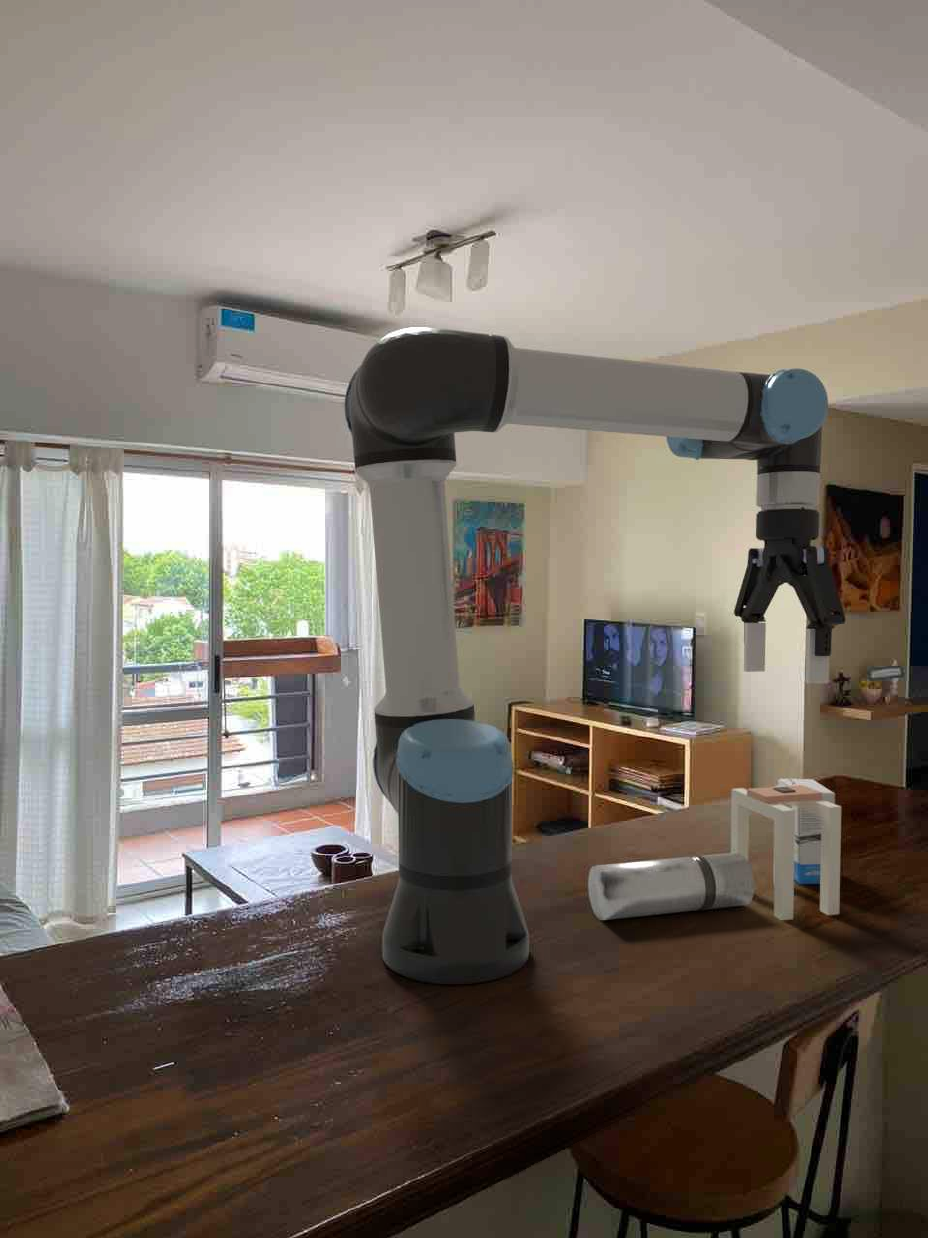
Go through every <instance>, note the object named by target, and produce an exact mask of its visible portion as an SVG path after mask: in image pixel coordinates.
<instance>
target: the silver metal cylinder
mask: <svg viewBox="0 0 928 1238" xmlns="http://www.w3.org/2000/svg"><path fill="white" fill-rule="evenodd" d="M751 867H752V866H751V865H750V862H749V860H748V861H747V860H746V858H745V857H744V856H743V855H742V854H740V853H731V852H728V853H718V854H708V855H691V856H685V857H673V858H663V859H651V860H642V861H641V860H640V861H631V862H619V863H608V864H597V865H592V867H591V868H590V870H589V874H588V882H587V887H588V897H589V902H590V906H591V908H592V911H593V913H594V915H595V917H596V918H597V919H598V920H600V921H609V920H617V919H626V918H638V917H645V916H654V915H663V914H673V913H683V912H684V913H685V912H690V911H691V912H693V911H694V912H695V911H707V910H712V909H721V908H730V907H740V906H746V905H749V904H750V903H751V901H752V900H753V898H754V892H755V880H754V879H755V878H754V874H753V870H752V868H751Z"/></svg>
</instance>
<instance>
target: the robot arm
mask: <svg viewBox="0 0 928 1238" xmlns="http://www.w3.org/2000/svg"><path fill="white" fill-rule="evenodd" d="M828 403H829V398H828V393H827V389H826V387H825V385H824V384H823V382H822V381H821V380H820V378H819V377H818V376H817V375H816V374H814V373H813V372H811V371H809V370H807V369H803V368H789V369H781V370H778V371H775V372H773V373H772V374H771V373H770V374H763V373H755V372H741V371H733V370H723V369H713V368H703V367H696V366H695V367H694V366H685V365H677V364H667V363H666V364H665V363H657V362H650V361H641V360H629V359H624V358H623V359H620V358H612V357H604V356H602V357H601V356H592V355H585V354H584V355H583V354H574V353H565V352H557V351H548V350H540V349H539V350H537V349H529V348H521V347H515V346H514V345H513V344H512V342H511V341H510V340H509V338H508V337H507V336H506V335H505V336H504V335H500V334H488V333H481V332H480V333H479V332H471V331H464V330H457V329H450V328H449V329H447V328H435V327H421V326H420V327H408V328H407V327H406V328H402V329H399V330H396V331H393V332H391V333H388V334H387V335H384V336H383V337H382V338H381V339H379V340H378V341H377V342H375V344H373V346H372V347H371V348H370V349H369V350H368V352H367V353H366V355H365V357H364V358H363V360H362V362H361V365H359V367H358V368H357V369H356V370H355V372H354V373H353V375H352V377H351V379H350V381H349V382H348V386H347V388H346V392H345V396H344V417H345V421H346V423H347V427H348V428H347V429H348V430H349V432H350V434H351V438H352V451H353V459H354V472H355V473H356V474H357V475H358V476H359V477H360V478H361V479H362V480H363V481H364V482H365V483H366V484H367V485H368V486H369V494H370V508H371V520H372V530H373V531H372V533H373V545H374V558H375V560H374V561H375V569H376V584H377V595H378V607H379V619H380V632H381V633H380V635H381V643H382V644H381V645H382V660H383V671H384V684H385V694H384V696H383V697H382V698H381V699H380V701H378V703H377V704H376V705H375V706H374V708H373V710H374V711H373V712H374V725H375V735H376V737H375V739H376V742H375V747H374V749H373V756H372V757H373V758H372V768H373V773H374V778H375V781H376V783H377V786H378V789H380V791H381V793H382V795H383V796H384V797H385V799H386V800H387V801H388V802H389V804H390V805H391V806H392V808H393V809H394V811H395V812H396V814H397V821H398V822H397V823H398V881H397V882H398V883H397V885H396V889H395V893H394V896H393V898H392V902H391V906H390V908H389V912H388V914H387V918H386V921H385V924H384V927H383V931H382V937H381V942H382V943H381V944H382V947H381V949H382V953H381V954H382V959H383V963H384V964H385V965H386V966H387V967H388V968H389V969H390V970H392V971H393V972H395V973H396V974H399V975H401V976H403V977H406V978H409V979H412V980H414V981H415V980H416V981H420V982H425V983H431V984H440V985H468V984H469V985H470V984H471V985H472V984H478V983H484V982H490V981H493V980H494V981H495V980H497V979H501V978H504V977H506V976H508V975H511V974H513V973H515V972H517V971H518V970H519V969H521V968H522V967H523V966H525V964H526V963H527V962H528V959H529V957H530V956H529V954H530V935H529V934H530V933H529V930H528V927H527V924H526V920H525V917H524V914H523V911H522V908H521V904H520V902H519V898H518V896H517V895H518V894H517V892H516V890H515V889H516V888H515V885H514V882H513V874H512V873H513V872H512V871H513V869H512V868H513V866H512V864H513V863H512V860H513V857H512V855H513V854H512V853H513V852H512V851H513V849H512V848H513V845H512V844H513V838H512V837H513V824H512V823H513V822H512V821H513V775H514V771H515V770H514V769H515V768H514V760H513V758H512V747H511V743H510V741H509V738H508V737H507V735H506V734H505V733H504V732H503V731H502V730H500V729H499V728H497V727H495V726H493V725H491V724H488V723H479V722H478V721H476V713H475V702H474V699H473V698H472V697H471V696H469V695H468V694H467V693H466V692H465V691H464V690H463V689H462V688H461V686H460V676H459V662H458V648H457V634H456V620H455V609H454V592H453V591H454V590H453V581H452V580H453V578H452V567H451V552H450V538H449V527H448V524H449V523H448V512H447V498H446V485H445V484H446V483H445V482H446V480H447V477H449V475H450V474H451V473H452V472H453V471H454V469H455V468H456V467H457V454H456V452H457V451H456V437H455V433H464V432H466V433H467V432H482V433H497V432H499V431H500V430H501V429H502V428H503V427H505V426H506V425H521V426H531V427H532V426H533V427H534V426H535V427H544V428H556V429H569V430H581V431H595V432H606V433H620V434H631V435H632V434H633V435H642V436H643V435H644V436H654V437H656V436H657V437H665V439H666V443H667V447H668V449H669V450H670V452H671V453H672V455H675V456H677V457H679V458H688V459H694V460H696V461H699V460H700V459H701V460H703V459H704V460H706V459H707V460H747V461H756V469H757V471H756V501H755V503H756V504H755V505H756V506H757V507H759V508H760V510H759V511H757V513H756V516H755V517H756V520H755V537H756V539H757V540H758V541H763V542H764V544H763V545H764V546H763V548H762V547H760V548H759V547H758V548H757V547H755V548H753V547H752V548H749V549H748V556H747V565H746V568H745V573H744V576H743V579H742V582H741V585H740V589H739V593H738V597H737V599H736V604H735V605H734V610H733V614H734V616H735V617H739V618H740V619H741V622H743V645H744V646H743V672H746V673H755V672H765V671H766V669H765V667H766V630H767V629H766V628H767V627H766V626H767V625H766V624H767V623H766V621H767V619H766V618H765V616H764V615H766V612H767V610H768V608H769V606H770V604H771V602H772V601H773V599H774V597H775V595H776V593H777V591H778V589H779V587H780V586H782V585H783V584H788V585H789V586H790V587H792V588H793V589H794V591H795V593H796V596H797V598H798V600H799V603H800V605H801V606H802V609H803V611H804V613H805V615H806V617H807V619H808V621H809V624H807V626H806V631H805V632H806V637H805V643H806V644H805V680H804V681H805V682H804V684H807V685H814V684H815V685H816V684H822V685H823V684H829V683H830V657H831V654H832V637H833V636H832V633H833V630H834V629H835V627H837V626H838V625H843V624H845V622H846V614H845V612H844V609H843V605H842V602H841V598H840V594H839V591H838V588H837V584H836V581H835V578H834V574H833V570H832V567H831V561H830V549H829V547H828V546H827V545H811V544H812V543H811V542H812V541H814V540H815V541H816V540H818V538H819V537H820V512H818V510H816V509H814V508H815V507H817V506H819V504H820V474H821V461H822V459H821V458H822V457H821V456H822V455H821V453H822V452H821V451H822V434H823V433H822V432H823V431H822V428H823V424H824V422H825V420H826V417H827V414H828V408H829V404H828Z"/></svg>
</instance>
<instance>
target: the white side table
mask: <svg viewBox="0 0 928 1238" xmlns="http://www.w3.org/2000/svg"><path fill="white" fill-rule="evenodd" d="M730 805H731V807H730V808H731V811H730V812H731V814H730V816H731V818H730V819H731V820H730V822H731V823H730V825H731V826H730V853H740V854H742V855H743V856H744V857H745V858H746V860H747V861H748V862H749V838H750V837H749V830H750V829H749V827H750V826H749V824H750V822H749V821H750V814H749V813H750V810H751V811H753V812H755V813H758V814H759V815H762V816H764V817H765V818H766V817H767V818H768V819H770V820H772V821H773V870H772V871H773V872H772V873H773V874H772V876H773V877H772V878H773V880H772V881H773V882H772V883H773V886H774V887H773V890H774V891H773V896H774V897H773V916H774V917H775V918H777V919H778V920H780V921H790V920H794V898H795V897H794V893H795V891H794V889H795V887H794V886H795V885H794V884H795V882H794V881H795V879H794V838H795V810H793V809H792V805H793V806H796V807H798V808H800V809H803V810H805V811H808V812H810V813H813V814H815V815H817V816H820V817H821V871H820V884H819V912H821V913H823V914H825V915H826V916H834V915H835V916H837V915H840V902H841V901H840V899H841V898H840V897H841V896H840V895H841V892H840V891H841V890H840V889H841V887H840V886H841V848H842V847H841V844H842V843H841V841H842V837H841V835H842V834H841V833H842V806H841V805H838V804H836V803H835V804H833V803H830V802H828V801H825V800H823V799H822V792H819V791H817V790H814V789H811V788H809V787H806V786H803V785H796V786H786V785H781V786H778V785H774V786H770V787H769V786H768V787H756V788H747V789H746V788H744V787H737V788H731V803H730Z"/></svg>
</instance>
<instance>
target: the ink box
mask: <svg viewBox="0 0 928 1238" xmlns="http://www.w3.org/2000/svg"><path fill="white" fill-rule="evenodd" d="M777 782H778V783H777V786H781V785H786V786H796V785H803V786H806V787H809V788H811V789H814V790H817V791H819V792H822V799H823V800H825V801H828V802H830V803H833V804H836V793H835V792H834V791H832V790H830V789H829V788H827V787H825V786H824V785H823V784H820V783H819V782H818V781H816V780H815V779H811V778H779V779H778V781H777ZM792 809H793V810H795V838H794V881H795V882H796V883H798V884H799V885H818V884H819V885H820V871H821V817H820V816H817V815H815V814H813V813H810V812H808V811H805V810H803V809H800V808H798V807H796V806H793V805H792Z"/></svg>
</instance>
